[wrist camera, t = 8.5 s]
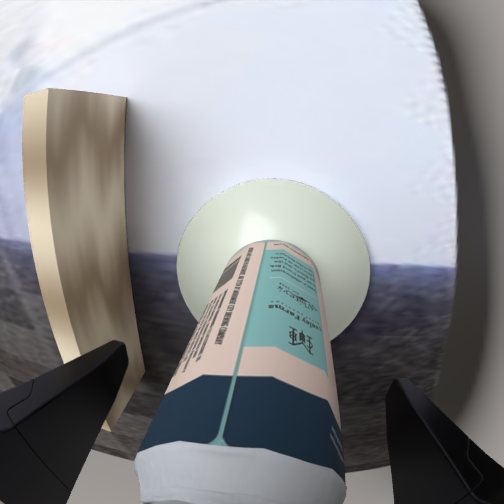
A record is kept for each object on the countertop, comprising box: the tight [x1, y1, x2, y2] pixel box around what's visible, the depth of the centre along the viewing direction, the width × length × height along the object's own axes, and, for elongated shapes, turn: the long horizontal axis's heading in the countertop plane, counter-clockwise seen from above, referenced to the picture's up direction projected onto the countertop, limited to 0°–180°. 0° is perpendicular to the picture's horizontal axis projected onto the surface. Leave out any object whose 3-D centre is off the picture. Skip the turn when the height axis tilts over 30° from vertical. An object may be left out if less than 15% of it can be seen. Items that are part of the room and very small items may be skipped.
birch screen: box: [22, 88, 145, 432], centre depth 14 cm, size 18×2×6 cm, turn 176°
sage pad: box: [177, 178, 370, 341], centre depth 15 cm, size 10×10×1 cm
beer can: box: [134, 240, 347, 504], centre depth 10 cm, size 5×5×12 cm
